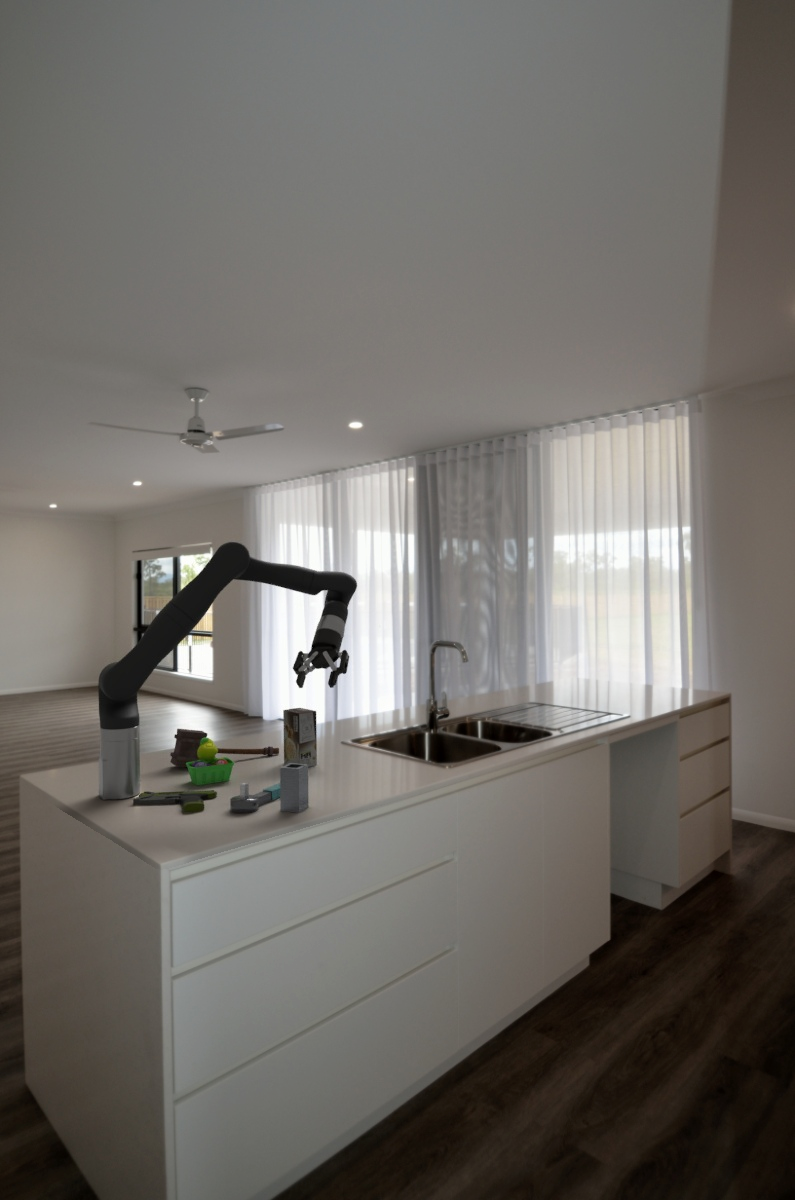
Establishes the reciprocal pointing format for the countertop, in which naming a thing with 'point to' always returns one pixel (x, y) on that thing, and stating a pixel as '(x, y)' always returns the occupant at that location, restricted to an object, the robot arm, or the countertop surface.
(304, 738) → the coffee box
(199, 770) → the fruit basket
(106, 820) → the countertop surface
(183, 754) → the hammer
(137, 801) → the gun
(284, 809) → the grey hollow square tube
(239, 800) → the ratchet
